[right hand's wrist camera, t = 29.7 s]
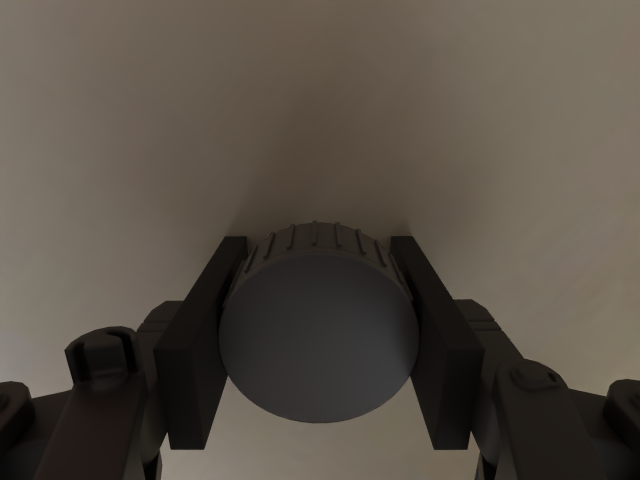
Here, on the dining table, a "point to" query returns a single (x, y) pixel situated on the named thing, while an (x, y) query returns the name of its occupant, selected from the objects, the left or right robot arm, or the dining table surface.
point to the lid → (319, 325)
